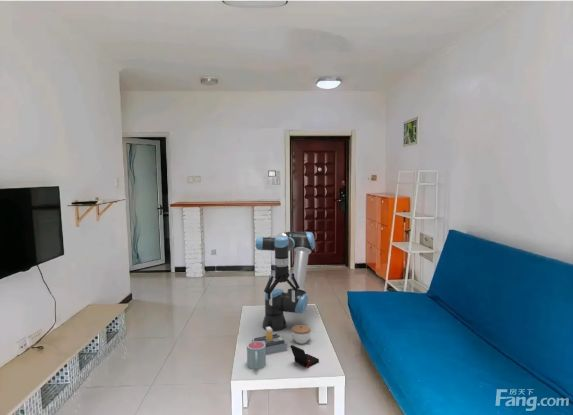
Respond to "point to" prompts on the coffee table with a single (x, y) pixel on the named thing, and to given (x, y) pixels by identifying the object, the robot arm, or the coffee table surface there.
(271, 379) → the coffee table surface
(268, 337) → the handle
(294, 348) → the handheld gaming console
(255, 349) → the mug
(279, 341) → the switch panel
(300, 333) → the lidded jar
